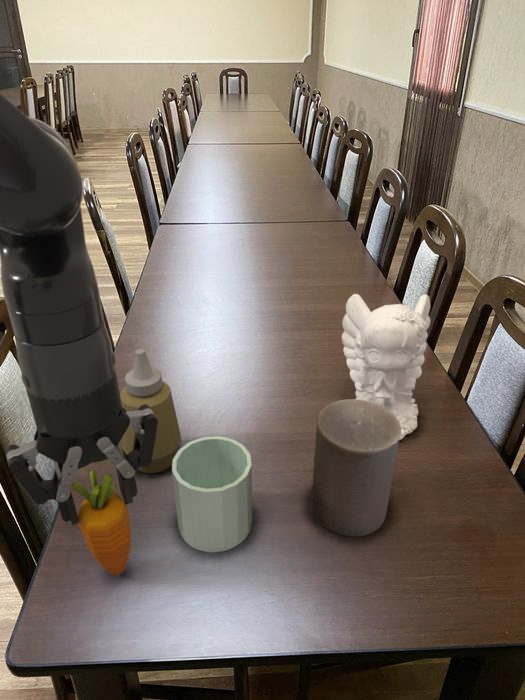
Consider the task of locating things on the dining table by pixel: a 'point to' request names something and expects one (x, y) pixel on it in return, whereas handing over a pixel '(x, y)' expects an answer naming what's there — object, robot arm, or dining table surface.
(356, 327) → the cherub figurine
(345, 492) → the pillar candle
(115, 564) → the carrot
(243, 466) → the tumbler
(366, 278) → the dining table surface
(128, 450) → the squeeze bottle
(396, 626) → the dining table surface
